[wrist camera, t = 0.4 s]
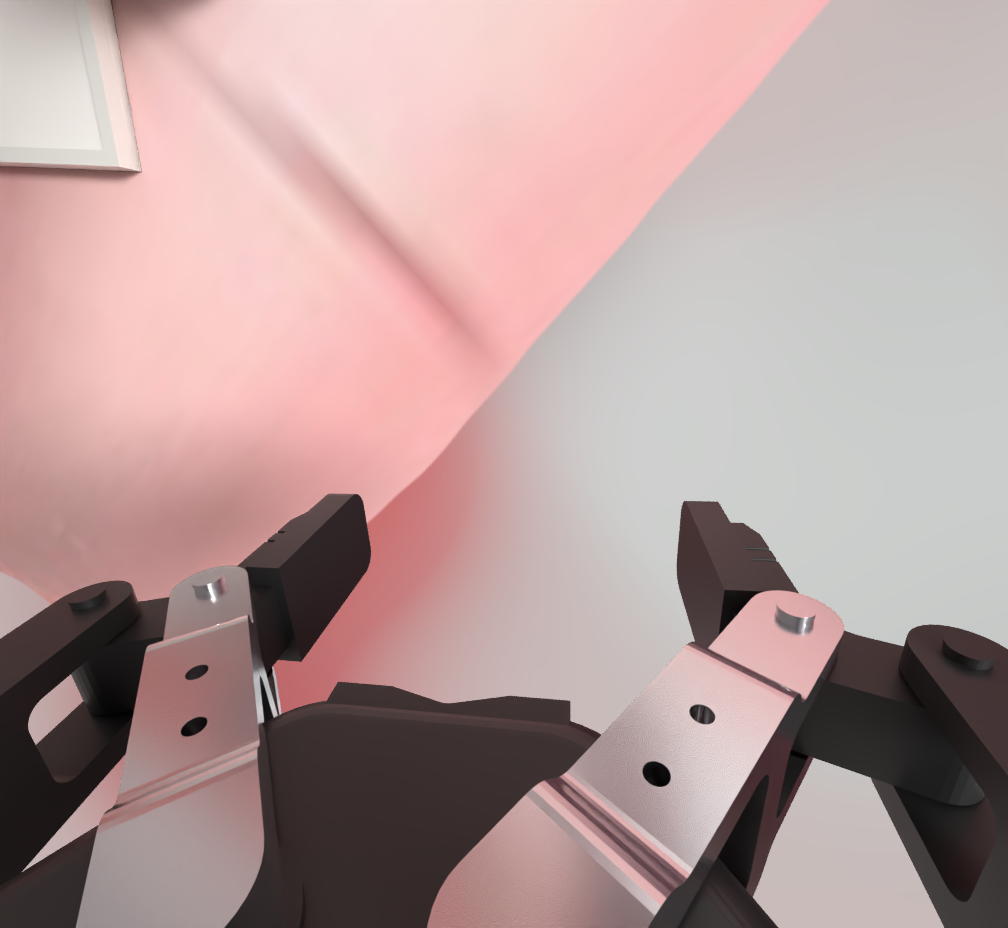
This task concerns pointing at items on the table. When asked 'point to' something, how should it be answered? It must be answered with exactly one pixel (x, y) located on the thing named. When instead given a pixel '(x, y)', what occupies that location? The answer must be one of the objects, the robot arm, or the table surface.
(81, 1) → the tray
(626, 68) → the table surface
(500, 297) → the table surface
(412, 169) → the table surface
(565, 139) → the table surface
